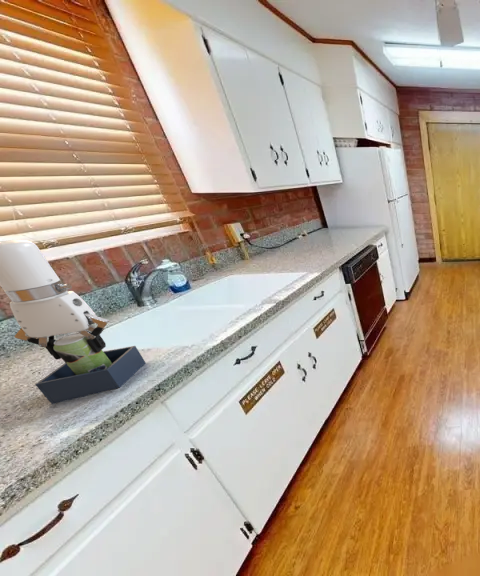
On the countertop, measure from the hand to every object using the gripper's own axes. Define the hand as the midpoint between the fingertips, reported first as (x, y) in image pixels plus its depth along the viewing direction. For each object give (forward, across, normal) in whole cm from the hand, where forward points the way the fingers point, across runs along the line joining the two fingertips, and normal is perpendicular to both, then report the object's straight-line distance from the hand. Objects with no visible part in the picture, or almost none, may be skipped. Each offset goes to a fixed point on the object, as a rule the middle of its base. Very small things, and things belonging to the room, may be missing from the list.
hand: (81, 352), depth 78 cm
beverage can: (+7, 0, 0) cm, 7 cm away
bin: (+10, 0, 0) cm, 10 cm away
